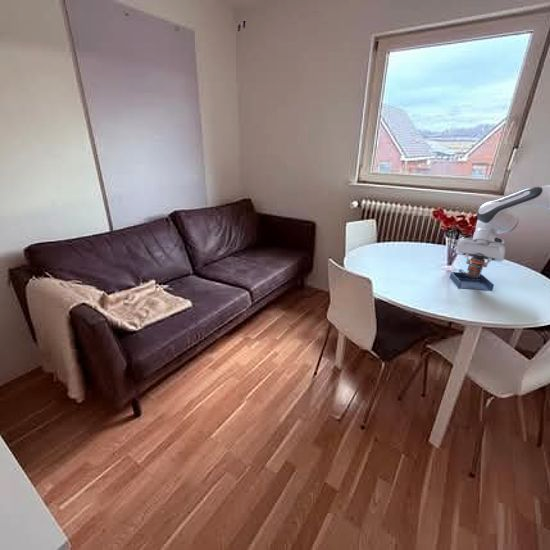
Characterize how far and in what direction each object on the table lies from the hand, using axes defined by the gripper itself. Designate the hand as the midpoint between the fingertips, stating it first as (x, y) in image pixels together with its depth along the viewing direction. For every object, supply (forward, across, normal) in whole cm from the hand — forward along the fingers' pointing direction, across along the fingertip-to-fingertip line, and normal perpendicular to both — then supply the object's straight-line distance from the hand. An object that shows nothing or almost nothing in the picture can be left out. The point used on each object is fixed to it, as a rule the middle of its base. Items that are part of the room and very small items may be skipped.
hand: (476, 264), depth 150 cm
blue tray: (+5, -2, +10) cm, 11 cm away
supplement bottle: (+4, 0, +5) cm, 6 cm away
